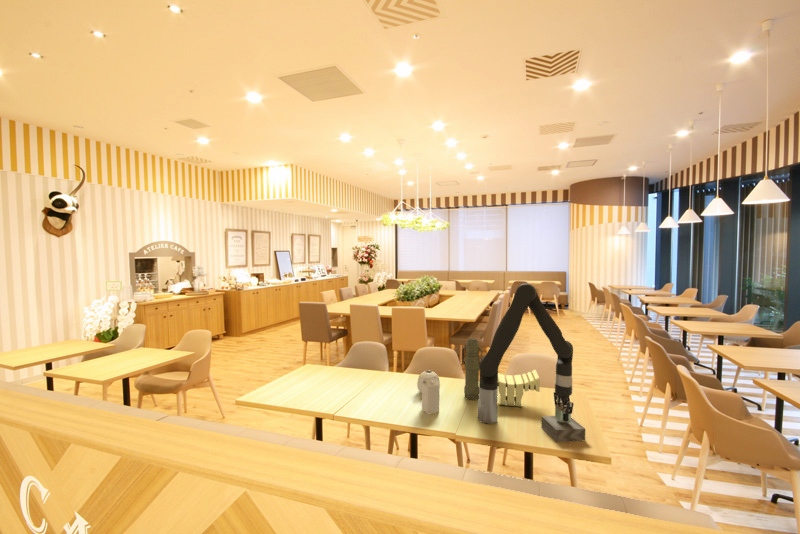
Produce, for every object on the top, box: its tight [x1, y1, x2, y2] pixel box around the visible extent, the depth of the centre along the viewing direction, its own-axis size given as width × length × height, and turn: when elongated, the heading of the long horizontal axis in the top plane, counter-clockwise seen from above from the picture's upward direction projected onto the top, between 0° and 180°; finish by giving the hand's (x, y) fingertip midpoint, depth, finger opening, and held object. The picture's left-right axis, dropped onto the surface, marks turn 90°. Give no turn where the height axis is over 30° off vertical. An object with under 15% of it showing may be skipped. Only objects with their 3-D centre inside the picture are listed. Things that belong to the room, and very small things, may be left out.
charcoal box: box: [541, 415, 586, 443], centre depth 174 cm, size 14×14×6 cm
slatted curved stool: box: [497, 369, 541, 408], centre depth 211 cm, size 30×16×18 cm, turn 78°
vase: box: [416, 369, 441, 394], centre depth 224 cm, size 14×14×13 cm
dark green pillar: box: [461, 338, 483, 401], centre depth 218 cm, size 9×12×35 cm
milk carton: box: [421, 376, 440, 415], centre depth 199 cm, size 7×7×19 cm
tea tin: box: [554, 404, 572, 423], centre depth 174 cm, size 5×5×6 cm
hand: (562, 418), depth 174 cm, fingers closed on tea tin, 5 cm apart
